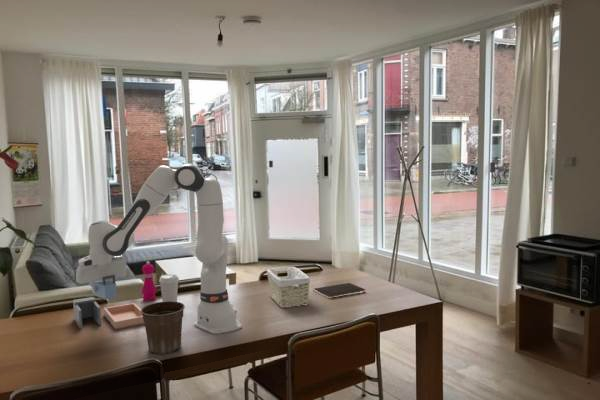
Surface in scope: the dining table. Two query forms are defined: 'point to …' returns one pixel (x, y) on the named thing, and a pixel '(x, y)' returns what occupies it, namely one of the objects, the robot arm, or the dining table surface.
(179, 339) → the plant pot
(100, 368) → the dining table surface
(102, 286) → the small pale blue carton
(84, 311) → the bay
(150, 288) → the pepper mill
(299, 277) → the storage basket
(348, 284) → the hardcover book
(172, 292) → the coffee cup
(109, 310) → the tray
